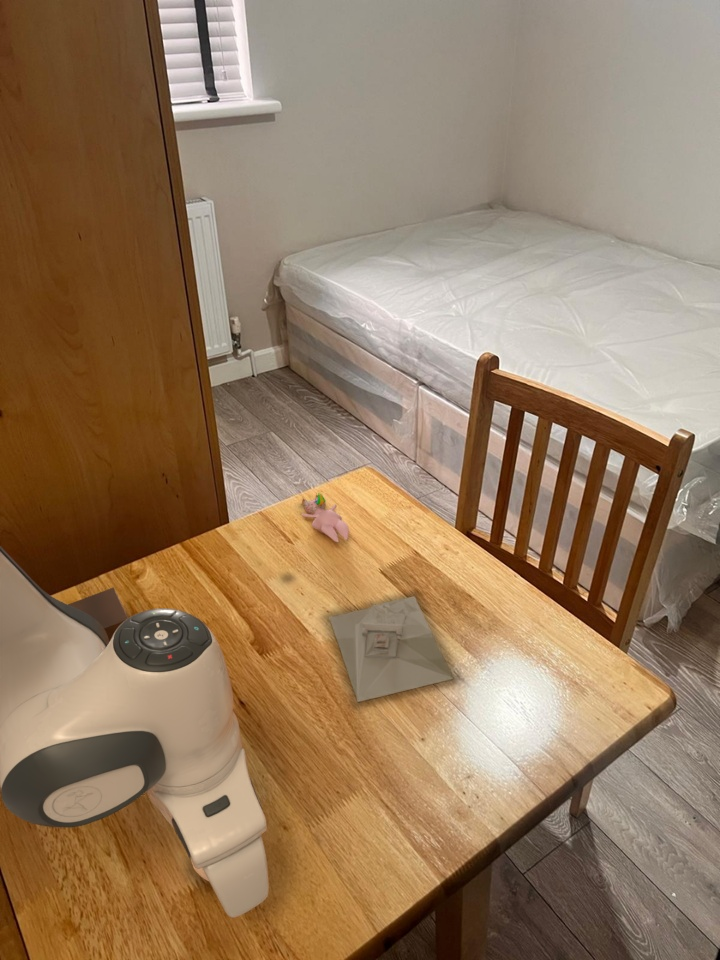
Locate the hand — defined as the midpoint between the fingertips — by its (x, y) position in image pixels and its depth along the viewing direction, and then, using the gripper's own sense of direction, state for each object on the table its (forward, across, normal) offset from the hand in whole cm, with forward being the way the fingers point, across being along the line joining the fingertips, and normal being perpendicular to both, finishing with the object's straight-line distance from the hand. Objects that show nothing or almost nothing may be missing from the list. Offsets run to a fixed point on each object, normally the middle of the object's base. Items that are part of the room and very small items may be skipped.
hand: (215, 844), depth 72 cm
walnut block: (+4, -36, -2) cm, 36 cm away
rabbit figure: (+5, -43, +36) cm, 56 cm away
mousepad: (+5, -21, +30) cm, 37 cm away
